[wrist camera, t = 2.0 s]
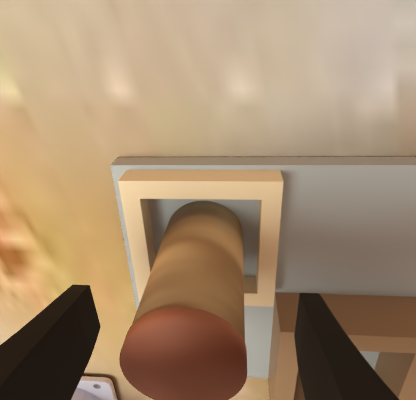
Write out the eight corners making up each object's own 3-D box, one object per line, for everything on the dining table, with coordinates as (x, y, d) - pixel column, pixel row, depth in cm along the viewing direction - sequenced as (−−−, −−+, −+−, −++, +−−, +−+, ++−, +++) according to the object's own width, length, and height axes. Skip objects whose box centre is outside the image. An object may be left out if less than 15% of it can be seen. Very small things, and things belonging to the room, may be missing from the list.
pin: (169, 264, 17) (129, 403, 11) (162, 199, 15) (109, 320, 9) (243, 265, 16) (246, 411, 10) (244, 200, 15) (248, 326, 9)
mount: (151, 357, 22) (137, 412, 19) (117, 157, 15) (87, 190, 12) (389, 370, 20) (415, 431, 17) (462, 156, 14) (525, 193, 11)
